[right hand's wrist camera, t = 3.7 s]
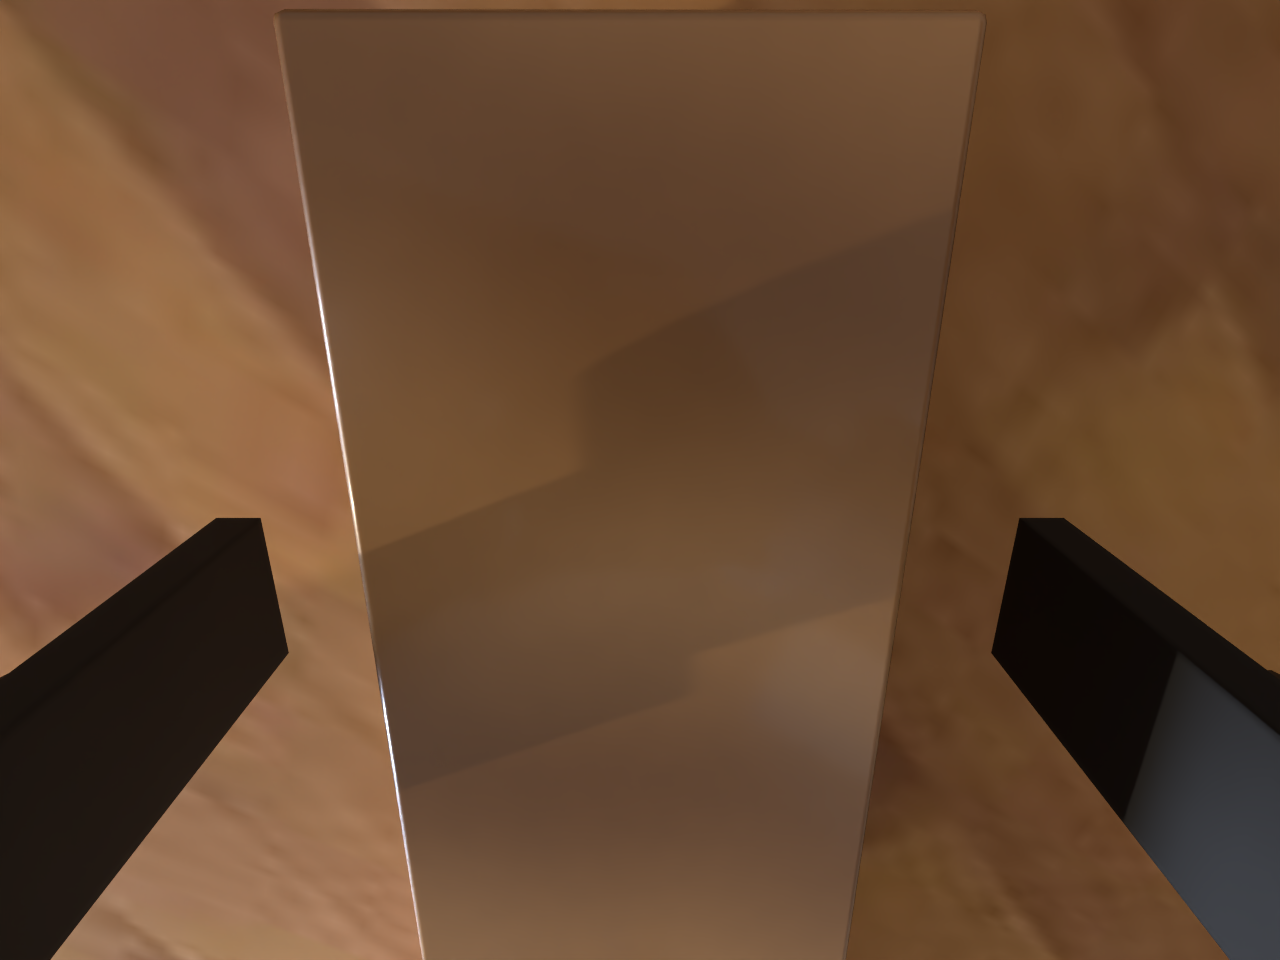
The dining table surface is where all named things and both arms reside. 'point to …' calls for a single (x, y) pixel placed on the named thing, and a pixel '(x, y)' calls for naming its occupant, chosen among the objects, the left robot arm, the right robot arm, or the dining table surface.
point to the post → (631, 444)
